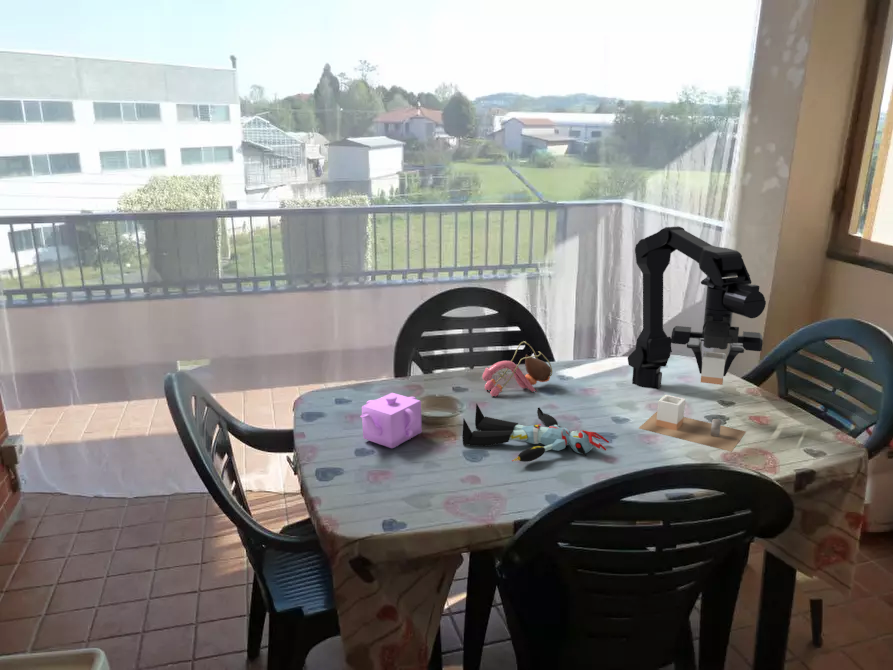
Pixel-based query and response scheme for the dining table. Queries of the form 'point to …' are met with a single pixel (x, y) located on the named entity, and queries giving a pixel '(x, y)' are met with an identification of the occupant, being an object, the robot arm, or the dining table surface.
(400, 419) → the teapot
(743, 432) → the pin board
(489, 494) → the dining table surface
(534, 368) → the anatomy model
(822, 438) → the dining table surface
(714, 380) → the sleeve loose
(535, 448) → the toy
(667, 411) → the sleeve seated
